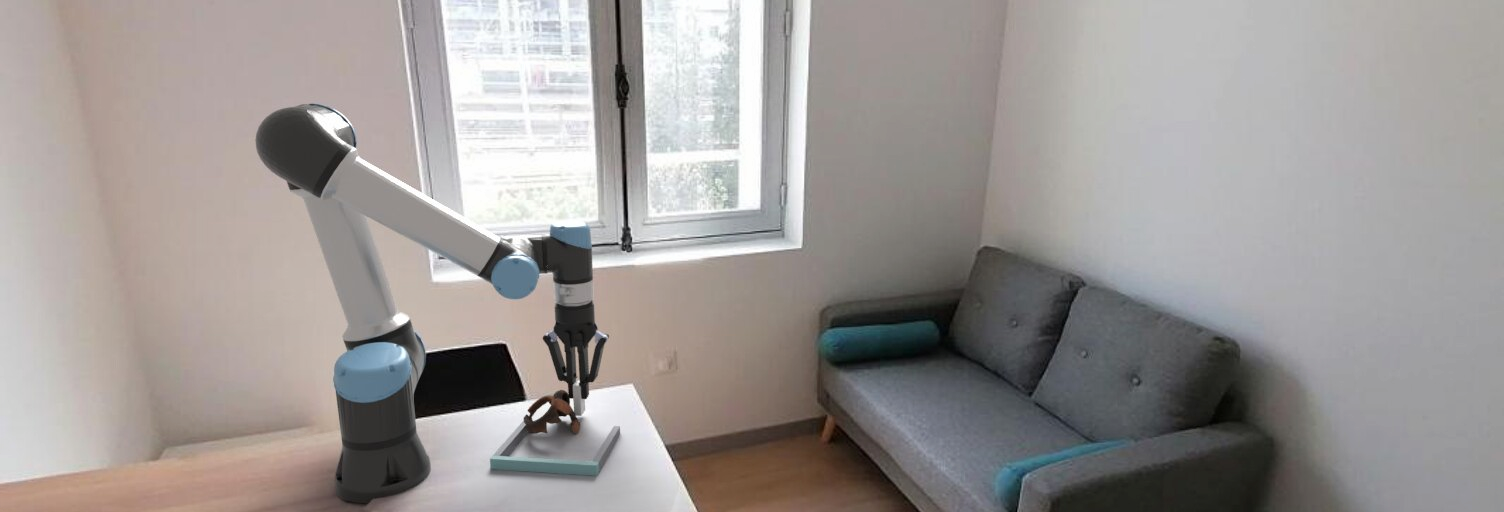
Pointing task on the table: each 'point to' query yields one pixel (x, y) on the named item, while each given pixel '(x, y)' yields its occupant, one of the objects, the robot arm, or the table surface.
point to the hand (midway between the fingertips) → (579, 412)
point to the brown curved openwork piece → (551, 413)
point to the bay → (550, 465)
